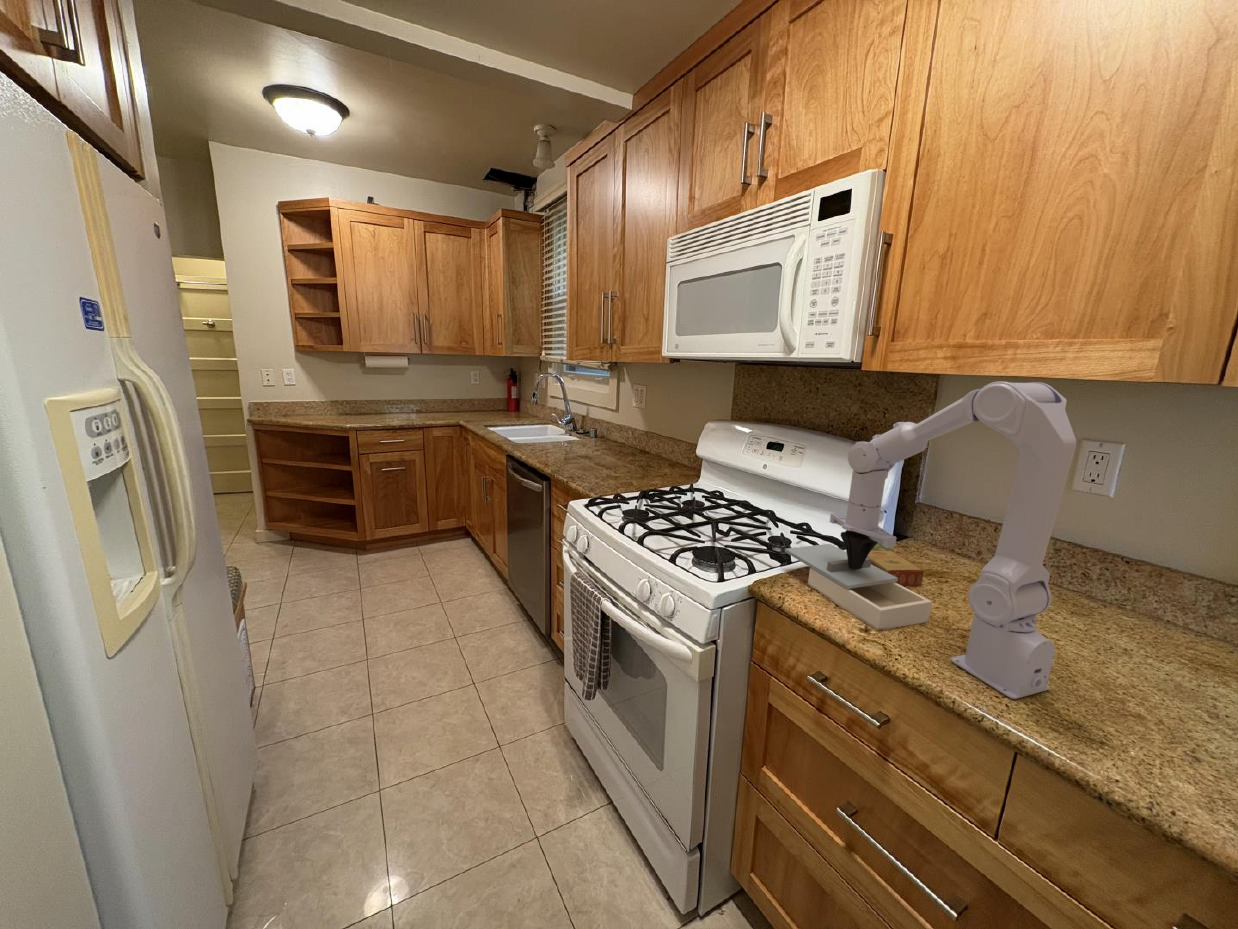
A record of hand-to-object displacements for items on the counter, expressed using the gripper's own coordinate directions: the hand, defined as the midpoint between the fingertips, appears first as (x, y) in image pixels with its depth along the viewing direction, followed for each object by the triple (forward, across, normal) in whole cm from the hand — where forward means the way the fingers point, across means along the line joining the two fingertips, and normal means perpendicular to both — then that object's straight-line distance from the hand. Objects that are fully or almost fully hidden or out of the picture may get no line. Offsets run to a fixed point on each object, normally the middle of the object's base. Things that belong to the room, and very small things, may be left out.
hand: (854, 568), depth 97 cm
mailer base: (+6, +3, 0) cm, 7 cm away
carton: (+6, -8, +16) cm, 19 cm away
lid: (+1, -4, 0) cm, 5 cm away
